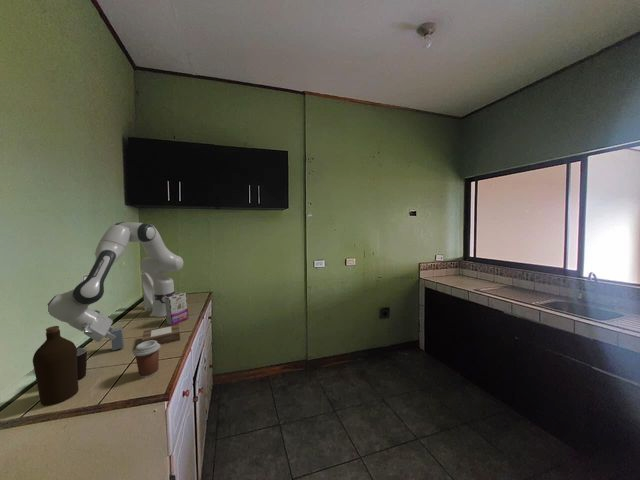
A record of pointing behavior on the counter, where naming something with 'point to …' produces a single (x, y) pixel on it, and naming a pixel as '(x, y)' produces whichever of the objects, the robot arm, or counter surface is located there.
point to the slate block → (117, 338)
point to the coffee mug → (81, 362)
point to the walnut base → (162, 334)
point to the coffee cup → (147, 358)
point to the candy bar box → (176, 308)
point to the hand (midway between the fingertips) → (116, 335)
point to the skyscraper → (148, 291)
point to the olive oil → (56, 368)
